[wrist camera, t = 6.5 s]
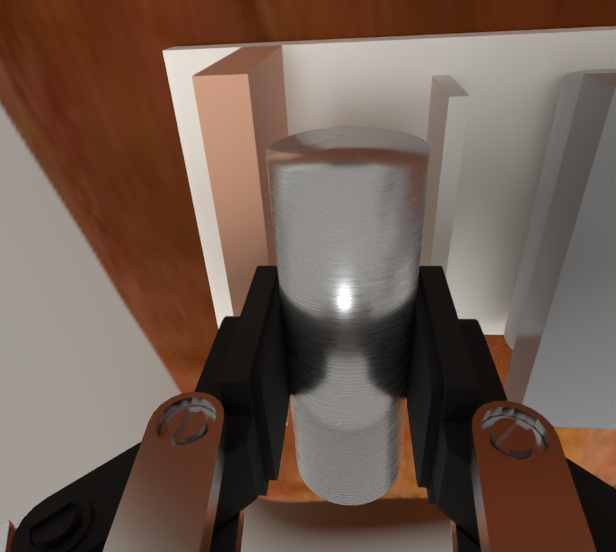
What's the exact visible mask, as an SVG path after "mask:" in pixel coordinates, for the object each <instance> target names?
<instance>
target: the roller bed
mask: <svg viewBox="0 0 616 552" xmlns="http://www.w3.org/2000/svg"><path fill="white" fill-rule="evenodd" d="M163 55H164V60H165V65H166V70H167V75H168V80H169V85H170V90H171V95H172V100H173V105H174V110H175V115H176V120H177V125H178V130H179V135H180V140H181V145H182V150H183V155H184V160H185V165H186V170H187V175H188V180H189V185H190V190H191V195H192V200H193V204H194V209H195V214H196V219H197V224H198V229H199V234H200V239H201V244H202V249H203V254H204V259H205V264H206V269H207V274H208V279H209V284H210V289H211V294H212V299H213V304H214V309H215V314H216V319H217V324H218V329H219V327H220V325H221V322H222V320H223V318H224V317H226V316H240V315H241V312H242V309H243V306H244V303H245V300H246V297H247V294H248V291H249V288H250V285H251V282H252V279H253V277H254V274H255V271H256V268H257V266H277V262H276V252H275V242H274V232H273V222H272V212H271V203H270V193H269V183H268V173H267V163H266V151H267V149H268V148H269V147H270V146H271V145H272V144H273V143H275V142H277V141H279V140H281V139H283V138H285V137H288V136H291V135H294V134H298V133H302V132H306V131H311V130H317V129H325V128H335V127H375V128H385V129H392V130H397V131H402V132H406V133H409V134H412V135H415V136H417V137H419V138H421V139H423V140H424V141H426V142H427V143H428V144H429V146H430V161H429V172H428V183H427V193H426V204H425V214H424V225H423V235H422V246H421V256H420V266H442V268H443V270H444V274H445V277H446V280H447V283H448V287H449V290H450V293H451V296H452V299H453V303H454V306H455V309H456V312H457V316H458V319H476V320H478V322H479V324H480V326H481V329H482V332H483V334H489V335H504V337H505V340H506V342H507V344H508V345H509V347H510V348H511V349H512V350H513V349H514V345H515V341H516V337H517V333H518V330H519V326H520V322H521V318H522V314H523V310H524V306H525V302H526V298H527V294H528V290H529V287H530V283H531V279H532V275H533V271H534V267H535V263H536V259H537V255H538V251H539V247H540V244H541V240H542V236H543V232H544V228H545V224H546V220H547V216H548V212H549V208H550V204H551V201H552V197H553V193H554V189H555V185H556V181H557V177H558V173H559V169H560V165H561V161H562V158H563V154H564V150H565V146H566V142H567V138H568V134H569V130H570V126H571V122H572V118H573V114H574V111H575V107H576V103H577V99H578V95H579V91H580V87H581V83H582V79H583V75H584V74H595V73H616V26H605V27H583V28H562V29H541V30H519V31H498V32H477V33H455V34H434V35H413V36H391V37H370V38H349V39H327V40H306V41H285V42H263V43H242V44H221V45H199V46H178V47H171V48H169V49H166V50H163ZM290 407H291V399H290V402H289V408H288V415H287V422H286V426H288V419H289V413H290Z"/></svg>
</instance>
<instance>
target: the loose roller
mask: <svg viewBox="0 0 616 552" xmlns="http://www.w3.org/2000/svg"><path fill="white" fill-rule="evenodd" d="M429 161H430V146H429V144H428V143H427V142H426V141H424V140H423V139H421V138H419V137H417V136H415V135H412V134H409V133H406V132H402V131H397V130H392V129H385V128H375V127H335V128H325V129H317V130H311V131H306V132H302V133H298V134H294V135H291V136H288V137H285V138H283V139H281V140H279V141H277V142H275V143H273V144H272V145H271V146H270V147H269V148H268V149H267V151H266V163H267V173H268V183H269V193H270V203H271V212H272V222H273V232H274V242H275V252H276V262H277V271H278V281H279V291H280V296H281V303H282V313H283V323H284V333H285V343H286V353H287V362H288V372H289V382H290V392H291V395H290V399H291V409H292V419H293V429H294V439H295V449H296V458H297V466H298V470H299V473H300V475H301V477H302V479H303V481H304V482H305V484H306V485H307V486H308V487H309V488H310V489H311V490H312V491H313V492H314V493H315V494H316V495H318V496H320V497H321V498H323V499H325V500H327V501H330V502H333V503H336V504H341V505H360V504H366V503H368V502H372V501H374V500H376V499H378V498H380V497H381V496H383V495H384V494H385V493H386V492H387V491H389V490H390V488H391V487H392V486H393V485H394V483H395V481H396V480H397V477H398V475H399V471H400V466H401V456H402V445H403V435H404V424H405V414H406V403H407V400H406V394H407V383H408V373H409V362H410V351H411V341H412V330H413V319H414V309H415V298H416V295H417V288H418V277H419V267H420V256H421V246H422V235H423V225H424V214H425V204H426V193H427V183H428V172H429Z"/></svg>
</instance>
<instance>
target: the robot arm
mask: <svg viewBox="0 0 616 552" xmlns="http://www.w3.org/2000/svg"><path fill="white" fill-rule="evenodd" d="M290 395H291V392H290V382H289V372H288V362H287V353H286V343H285V333H284V323H283V313H282V303H281V296H280V291H279V281H278V271H277V266H257V268H256V271H255V274H254V277H253V279H252V282H251V285H250V288H249V291H248V294H247V297H246V300H245V303H244V306H243V309H242V312H241V315H240V316H226V317H224V318H223V320H222V322H221V325H220V327H219V330H218V333H217V335H216V338H215V340H214V343H213V345H212V348H211V351H210V353H209V356H208V358H207V361H206V363H205V366H204V369H203V371H202V374H201V376H200V379H199V381H198V384H197V387H196V389H195V392H189V393H182V394H180V395H177V396H175V397H172V398H170V399H169V400H167V401H166V402H164V403H163V404H161V405H160V406H159V407H158V409H156V411H155V412H154V413H153V415H152V417H151V419H150V420H149V422H148V425H147V428H146V431H145V434H144V436H143V439H142V442H140V443H138V444H137V445H135V446H133V447H132V448H130V449H128V450H126V451H125V452H123V453H121V454H120V455H118V456H117V457H115V458H113V459H111V460H110V461H108V462H106V463H105V464H103V465H102V466H100V467H98V468H96V469H95V470H93V471H91V472H90V473H88V474H87V475H85V476H83V477H81V478H80V479H78V480H76V481H75V482H73V483H71V484H69V485H68V486H66V487H65V488H63V489H61V490H59V491H58V492H56V493H54V494H53V495H51V496H49V497H48V498H46V499H45V500H43V501H42V502H41V503H39V504H38V505H37V506H35V507H34V508H33V509H32V510H31V511H30V512H29V513H28V514H27V516H25V517H24V518H23V520H22V521H21V523H18V524H15V525H13V524H12V523H11V521H10V520H9V521H6V522H3V523H0V552H241V545H242V536H243V527H244V517H245V507H247V506H248V505H249V504H251V503H252V502H253V501H254V500H256V499H257V497H258V495H264V496H266V495H267V489H268V484H269V480H277V478H278V474H279V467H280V461H281V454H282V448H283V441H284V435H285V428H286V422H287V415H288V408H289V402H290ZM406 400H407V408H408V416H409V424H410V432H411V440H412V448H413V456H414V464H415V472H416V480H417V485H418V487H425V488H427V494H428V501H429V504H437V508H439V509H440V510H441V511H442V512H443V513H444V514H445V515H447V516H448V517H449V518H450V519H451V533H452V544H453V552H616V489H615V488H613V487H611V486H610V485H608V484H607V483H605V482H604V481H602V480H600V479H599V478H597V477H596V476H594V475H593V474H591V473H589V472H588V471H586V470H585V469H583V468H582V467H580V466H578V465H577V464H575V463H574V462H572V461H571V460H569V459H567V458H566V457H565V455H564V452H563V449H562V446H561V443H560V440H559V437H558V435H557V433H556V431H555V429H554V427H553V426H552V425H551V423H550V422H549V421H548V420H547V419H546V418H545V417H544V416H543V415H541V414H540V413H538V412H537V411H535V410H534V409H532V408H530V407H527V406H525V405H523V404H520V403H516V402H511V401H508V400H507V397H506V394H505V391H504V389H503V386H502V383H501V381H500V378H499V375H498V372H497V370H496V367H495V364H494V361H493V359H492V356H491V353H490V351H489V348H488V345H487V342H486V340H485V337H484V334H483V332H482V329H481V326H480V324H479V322H478V320H476V319H458V316H457V312H456V309H455V306H454V303H453V299H452V296H451V293H450V290H449V287H448V283H447V280H446V277H445V274H444V270H443V268H442V266H420V267H419V277H418V288H417V295H416V298H415V309H414V319H413V330H412V341H411V351H410V362H409V373H408V383H407V394H406Z"/></svg>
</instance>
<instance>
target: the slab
mask: <svg viewBox="0 0 616 552" xmlns="http://www.w3.org/2000/svg"><path fill="white" fill-rule="evenodd" d="M503 389H504V391H505V394H506V397H507V400H508V401H511V402H516V403H520V404H523V405H525V406H527V407H530V408H532V409H534V410H535V411H537V412H538V413H540V414H541V415H543V416H544V417H545V418H546V419H547V420H548V421H549V422H550V423H551V425H552V426H553V427H575V428H600V429H616V73H595V74H584V75H583V79H582V83H581V87H580V91H579V95H578V99H577V103H576V107H575V111H574V114H573V118H572V122H571V126H570V130H569V134H568V138H567V142H566V146H565V150H564V154H563V158H562V161H561V165H560V169H559V173H558V177H557V181H556V185H555V189H554V193H553V197H552V201H551V204H550V208H549V212H548V216H547V220H546V224H545V228H544V232H543V236H542V240H541V244H540V247H539V251H538V255H537V259H536V263H535V267H534V271H533V275H532V279H531V283H530V287H529V290H528V294H527V298H526V302H525V306H524V310H523V314H522V318H521V322H520V326H519V330H518V333H517V337H516V341H515V345H514V349H513V353H512V357H511V361H510V365H509V369H508V373H507V377H506V380H505V384H504V388H503Z"/></svg>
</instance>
